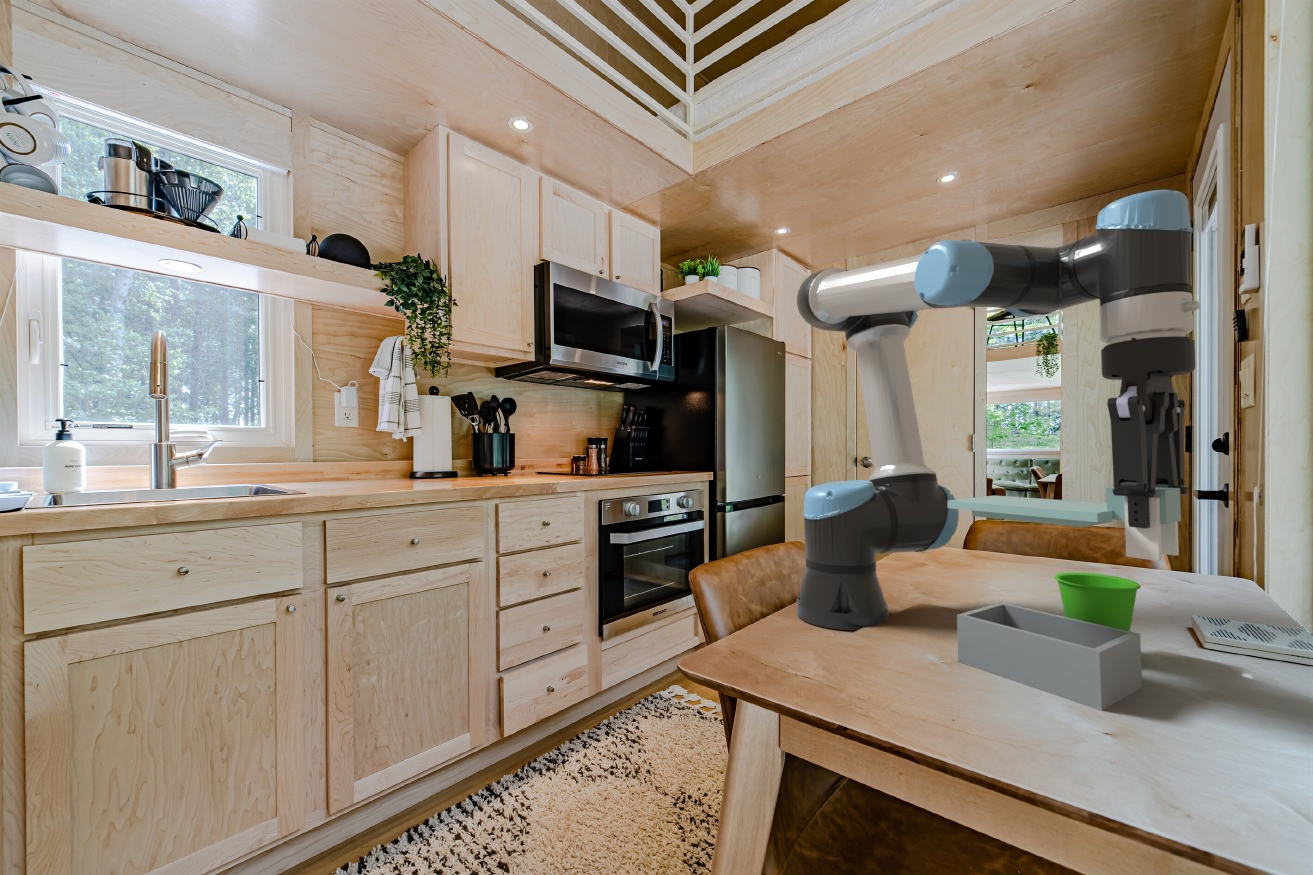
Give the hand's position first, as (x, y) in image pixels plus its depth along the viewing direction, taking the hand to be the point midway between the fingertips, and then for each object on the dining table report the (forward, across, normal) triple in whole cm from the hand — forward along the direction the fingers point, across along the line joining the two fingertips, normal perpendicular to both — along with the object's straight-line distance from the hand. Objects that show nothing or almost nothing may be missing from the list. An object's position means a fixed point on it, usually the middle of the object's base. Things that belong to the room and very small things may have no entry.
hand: (1152, 555), depth 58 cm
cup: (+18, +12, +10) cm, 24 cm away
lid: (-3, 0, +9) cm, 9 cm away
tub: (+17, 0, +11) cm, 20 cm away
